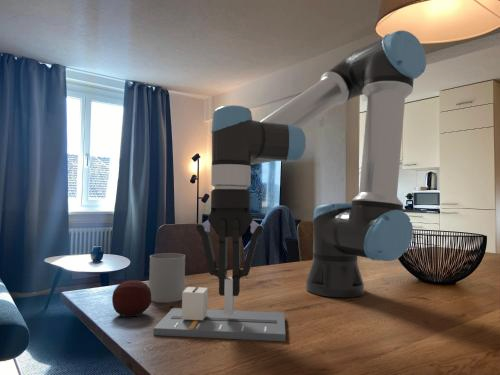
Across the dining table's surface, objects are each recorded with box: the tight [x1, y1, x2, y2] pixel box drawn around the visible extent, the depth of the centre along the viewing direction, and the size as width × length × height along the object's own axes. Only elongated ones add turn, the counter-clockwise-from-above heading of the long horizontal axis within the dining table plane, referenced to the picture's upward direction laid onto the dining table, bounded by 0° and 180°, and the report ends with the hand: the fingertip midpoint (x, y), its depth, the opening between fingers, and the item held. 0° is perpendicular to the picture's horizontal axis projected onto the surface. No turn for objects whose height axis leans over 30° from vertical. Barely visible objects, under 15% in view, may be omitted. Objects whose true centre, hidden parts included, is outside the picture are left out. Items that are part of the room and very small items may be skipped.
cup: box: [148, 252, 186, 303], centre depth 89 cm, size 8×8×10 cm
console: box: [153, 307, 287, 342], centre depth 69 cm, size 23×12×1 cm, turn 86°
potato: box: [111, 279, 152, 317], centre depth 75 cm, size 7×8×7 cm
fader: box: [181, 286, 209, 320], centre depth 70 cm, size 4×4×5 cm
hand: (229, 312), depth 70 cm, fingers closed
